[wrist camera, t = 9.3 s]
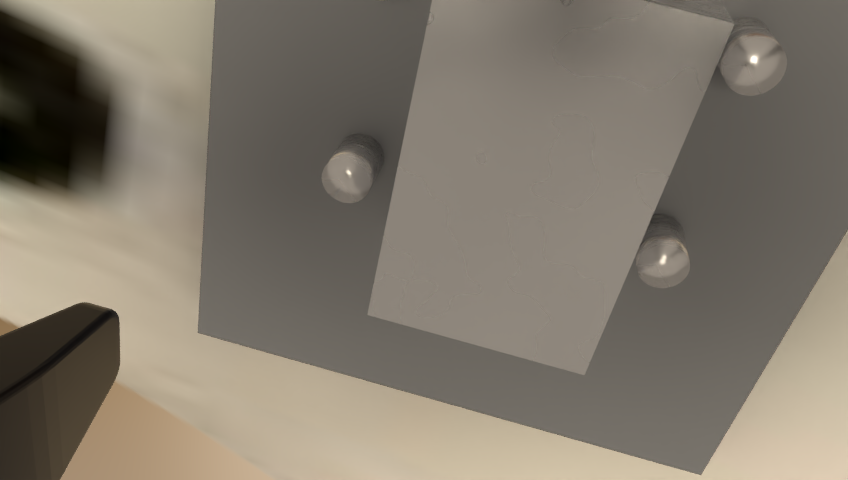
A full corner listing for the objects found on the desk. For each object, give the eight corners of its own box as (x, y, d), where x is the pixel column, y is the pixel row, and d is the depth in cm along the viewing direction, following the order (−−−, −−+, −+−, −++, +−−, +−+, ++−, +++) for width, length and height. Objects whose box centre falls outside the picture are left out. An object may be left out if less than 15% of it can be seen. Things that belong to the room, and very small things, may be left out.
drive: (713, -53, 16) (747, -7, 12) (584, 276, 20) (584, 375, 17) (478, -111, 16) (448, -82, 13) (403, 226, 21) (367, 314, 17)
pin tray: (1146, -327, 13) (1253, -348, 11) (696, 450, 24) (707, 515, 22) (265, -528, 14) (208, -582, 12) (210, 314, 25) (176, 363, 23)
